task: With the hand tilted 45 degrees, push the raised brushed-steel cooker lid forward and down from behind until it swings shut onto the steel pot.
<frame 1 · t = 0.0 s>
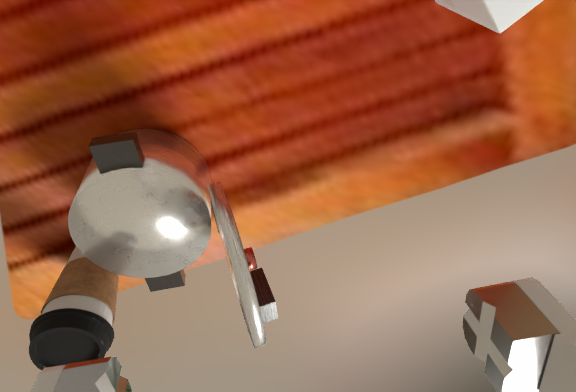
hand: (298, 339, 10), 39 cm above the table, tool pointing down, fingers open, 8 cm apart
cooker pot: (151, 181, 52), on the table
coffee cup: (97, 254, 57), on the table
cooker lid: (242, 258, 39), point 16 cm above the table, hinge at 100.0°
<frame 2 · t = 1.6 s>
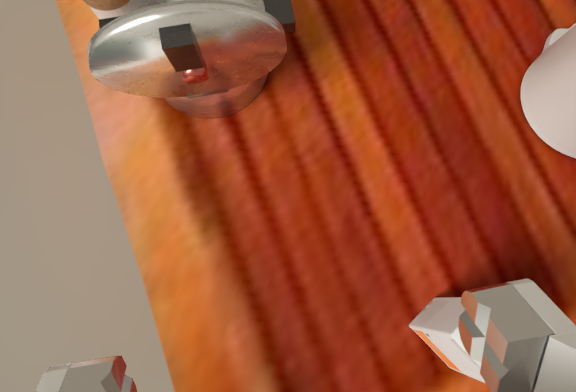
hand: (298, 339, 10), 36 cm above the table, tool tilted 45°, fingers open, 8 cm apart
cooker pot: (211, 64, 52), on the table
coffee cup: (121, 8, 54), on the table
cooker lid: (194, 67, 34), point 16 cm above the table, hinge at 100.0°
skincare box: (441, 333, 45), on the table
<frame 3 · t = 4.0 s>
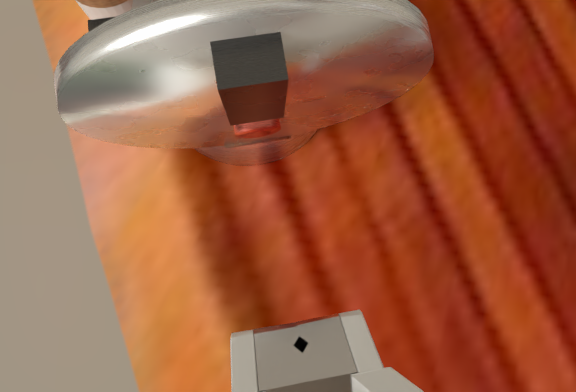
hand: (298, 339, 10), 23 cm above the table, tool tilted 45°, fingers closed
cooker pot: (248, 87, 37), on the table
coffee cup: (121, 6, 39), on the table
cooker lid: (254, 110, 19), point 16 cm above the table, hinge at 100.0°
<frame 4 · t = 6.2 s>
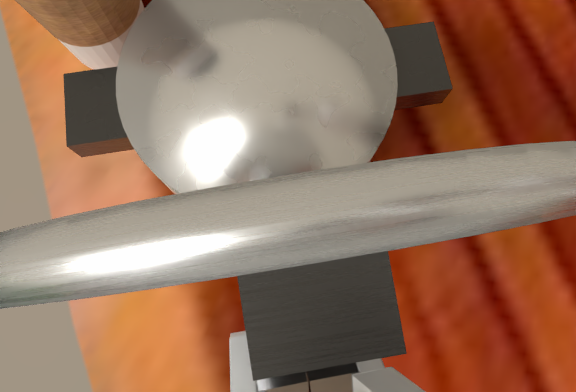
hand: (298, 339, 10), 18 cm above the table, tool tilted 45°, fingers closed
cooker pot: (265, 140, 30), on the table
coffee cup: (113, 38, 32), on the table
cooker lid: (292, 252, 12), point 16 cm above the table, hinge at 98.6°
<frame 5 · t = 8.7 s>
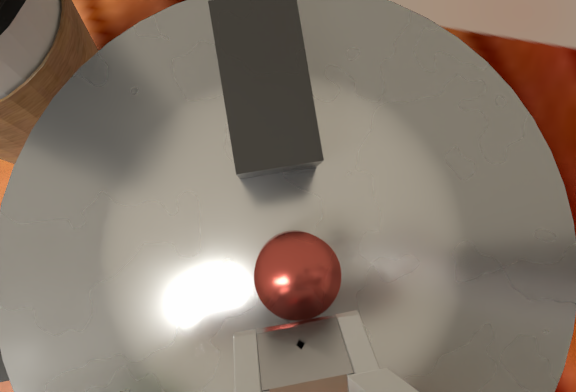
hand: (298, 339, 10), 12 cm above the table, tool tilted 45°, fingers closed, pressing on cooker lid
coffee cup: (84, 135, 25), on the table
cooker lid: (296, 282, 11), point 12 cm above the table, hinge at 12.5°, touching gripper
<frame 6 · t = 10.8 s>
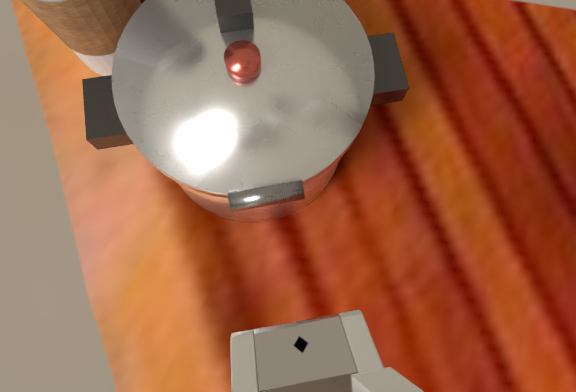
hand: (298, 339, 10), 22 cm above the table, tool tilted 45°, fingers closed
cooker pot: (254, 136, 34), on the table
coffee cup: (118, 48, 37), on the table
cooker lid: (244, 71, 24), point 10 cm above the table, hinge at -0.1°
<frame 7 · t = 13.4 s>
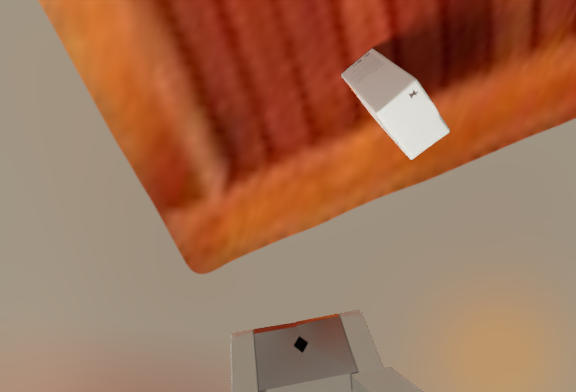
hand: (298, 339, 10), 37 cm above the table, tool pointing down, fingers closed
skincare box: (370, 82, 46), on the table
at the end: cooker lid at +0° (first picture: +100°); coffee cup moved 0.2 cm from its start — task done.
